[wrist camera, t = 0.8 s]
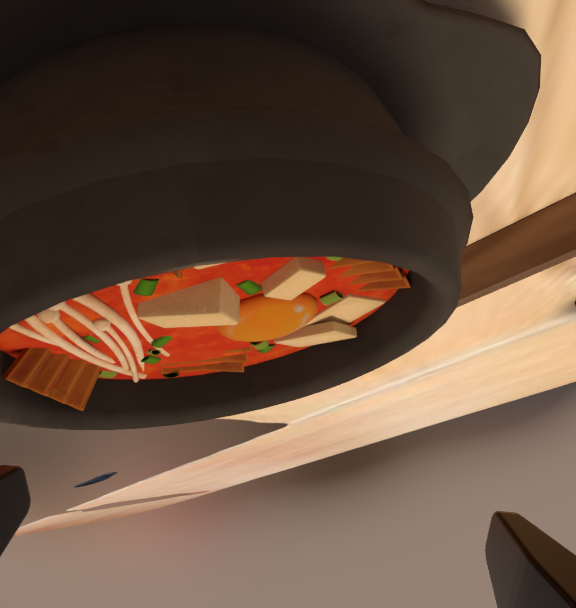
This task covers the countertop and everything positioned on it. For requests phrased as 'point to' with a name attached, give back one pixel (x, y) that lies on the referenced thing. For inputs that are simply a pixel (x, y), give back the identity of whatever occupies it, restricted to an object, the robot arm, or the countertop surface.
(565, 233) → the stop frame
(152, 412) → the casserole
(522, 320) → the countertop surface
